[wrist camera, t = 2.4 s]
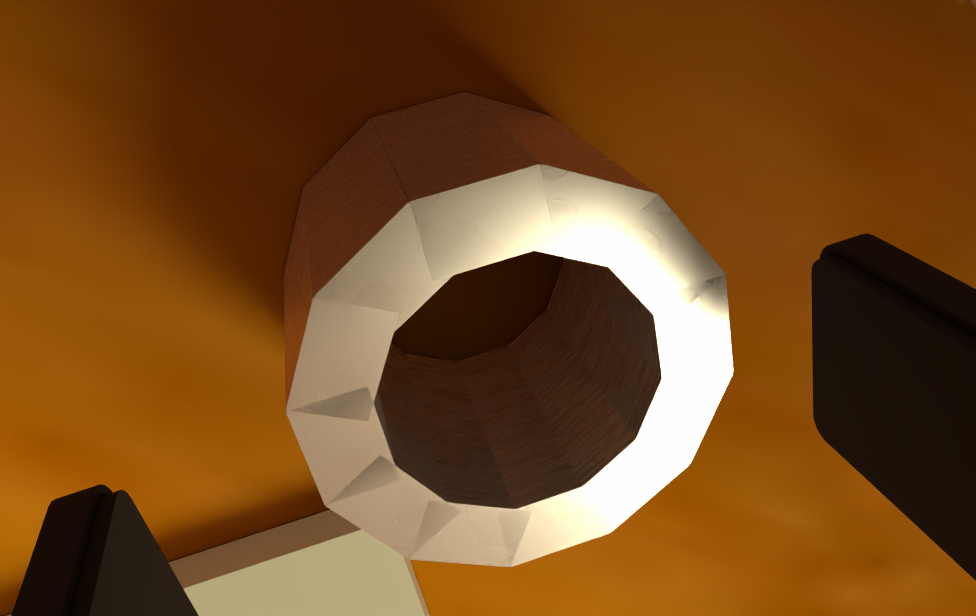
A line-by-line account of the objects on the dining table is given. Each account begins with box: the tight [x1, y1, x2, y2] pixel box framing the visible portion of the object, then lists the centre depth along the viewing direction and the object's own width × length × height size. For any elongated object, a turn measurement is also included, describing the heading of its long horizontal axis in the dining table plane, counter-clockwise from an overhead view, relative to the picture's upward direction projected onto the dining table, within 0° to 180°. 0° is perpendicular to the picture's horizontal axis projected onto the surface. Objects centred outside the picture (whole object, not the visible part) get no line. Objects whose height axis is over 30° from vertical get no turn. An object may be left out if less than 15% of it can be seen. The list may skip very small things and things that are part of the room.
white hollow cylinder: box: [284, 92, 733, 567], centre depth 14 cm, size 7×7×5 cm
